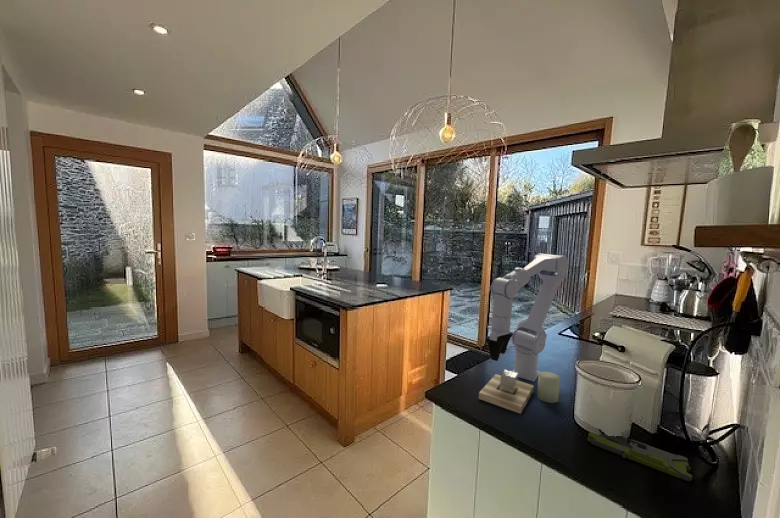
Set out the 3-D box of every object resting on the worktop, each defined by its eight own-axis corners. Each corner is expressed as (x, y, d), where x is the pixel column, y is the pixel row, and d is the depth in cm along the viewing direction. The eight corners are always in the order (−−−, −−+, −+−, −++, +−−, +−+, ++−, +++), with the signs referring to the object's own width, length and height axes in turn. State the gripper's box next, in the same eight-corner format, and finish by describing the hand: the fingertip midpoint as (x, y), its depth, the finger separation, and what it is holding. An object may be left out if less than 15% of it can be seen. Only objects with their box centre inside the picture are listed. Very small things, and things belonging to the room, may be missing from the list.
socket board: (495, 379, 110) (495, 374, 110) (533, 391, 104) (533, 385, 103) (478, 398, 97) (479, 392, 97) (520, 413, 90) (521, 406, 90)
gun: (683, 450, 80) (692, 489, 68) (592, 418, 91) (586, 447, 79) (685, 440, 79) (694, 478, 67) (593, 409, 90) (587, 437, 78)
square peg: (502, 390, 103) (504, 369, 102) (515, 395, 101) (517, 373, 100) (498, 395, 100) (500, 373, 99) (512, 400, 98) (514, 377, 97)
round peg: (536, 391, 104) (537, 370, 103) (557, 395, 102) (558, 373, 101) (538, 400, 98) (539, 378, 97) (559, 404, 96) (561, 381, 96)
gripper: (495, 309, 113) (492, 347, 115) (481, 317, 101) (478, 359, 103) (517, 313, 109) (513, 352, 111) (504, 322, 97) (500, 366, 99)
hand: (497, 356), depth 106 cm, fingers open, 7 cm apart
